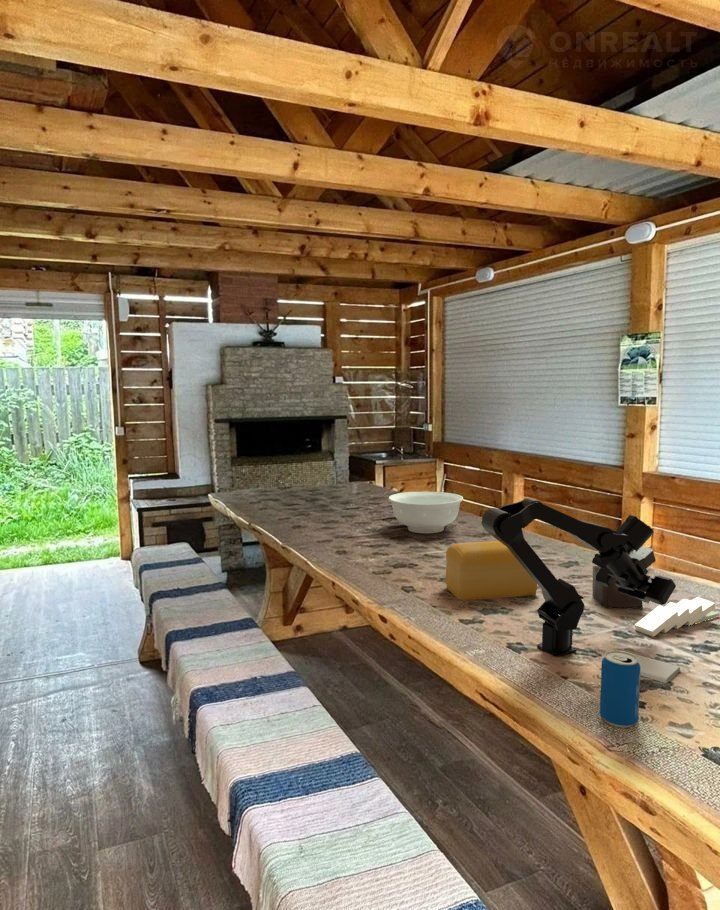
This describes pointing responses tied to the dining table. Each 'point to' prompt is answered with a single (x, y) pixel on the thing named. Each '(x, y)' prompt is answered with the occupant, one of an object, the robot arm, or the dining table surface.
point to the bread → (486, 572)
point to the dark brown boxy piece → (612, 594)
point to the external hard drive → (656, 669)
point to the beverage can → (620, 689)
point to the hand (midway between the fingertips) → (648, 601)
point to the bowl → (425, 510)
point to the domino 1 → (656, 620)
